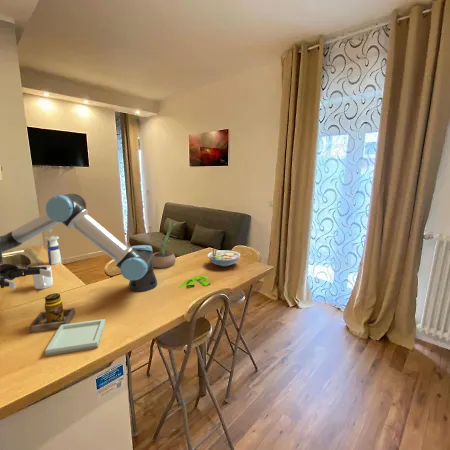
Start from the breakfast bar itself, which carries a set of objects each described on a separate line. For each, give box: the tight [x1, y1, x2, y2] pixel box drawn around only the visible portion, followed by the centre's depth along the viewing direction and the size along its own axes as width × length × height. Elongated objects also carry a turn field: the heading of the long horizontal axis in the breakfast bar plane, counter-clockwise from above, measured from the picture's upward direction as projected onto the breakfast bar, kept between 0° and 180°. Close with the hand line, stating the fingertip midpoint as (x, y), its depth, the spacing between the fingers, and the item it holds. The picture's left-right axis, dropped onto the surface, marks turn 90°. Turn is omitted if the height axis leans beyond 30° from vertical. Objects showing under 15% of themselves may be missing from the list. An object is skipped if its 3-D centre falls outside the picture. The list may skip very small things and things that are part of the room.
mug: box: [32, 264, 54, 290], centre depth 142 cm, size 9×12×11 cm
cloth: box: [179, 275, 211, 289], centre depth 147 cm, size 20×22×2 cm
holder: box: [27, 307, 76, 334], centre depth 107 cm, size 13×12×2 cm
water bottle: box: [44, 227, 62, 265], centre depth 181 cm, size 8×9×25 cm
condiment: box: [41, 292, 67, 324], centre depth 107 cm, size 7×8×12 cm
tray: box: [44, 318, 106, 357], centre depth 97 cm, size 16×16×2 cm
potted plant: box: [153, 220, 181, 269], centre depth 179 cm, size 22×18×30 cm
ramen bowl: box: [207, 248, 241, 267], centre depth 179 cm, size 25×23×8 cm
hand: (33, 279), depth 108 cm, fingers open, 13 cm apart
